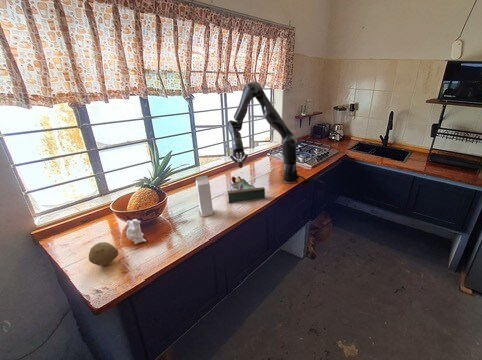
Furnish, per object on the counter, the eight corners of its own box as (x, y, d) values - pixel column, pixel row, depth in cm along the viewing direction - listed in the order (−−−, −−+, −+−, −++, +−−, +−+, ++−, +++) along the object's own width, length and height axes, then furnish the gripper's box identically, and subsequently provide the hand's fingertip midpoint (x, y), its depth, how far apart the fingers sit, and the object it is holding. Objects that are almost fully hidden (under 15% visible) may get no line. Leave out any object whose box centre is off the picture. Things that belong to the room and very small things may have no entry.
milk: (213, 214, 135) (209, 177, 126) (202, 217, 132) (196, 179, 123) (210, 209, 140) (206, 173, 131) (199, 212, 137) (194, 175, 128)
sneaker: (253, 198, 153) (252, 184, 149) (228, 190, 163) (226, 177, 159) (260, 193, 159) (260, 179, 155) (235, 186, 169) (234, 173, 165)
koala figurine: (151, 239, 114) (145, 217, 109) (137, 247, 108) (131, 224, 103) (139, 234, 117) (133, 212, 112) (125, 242, 111) (118, 219, 107)
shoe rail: (264, 196, 155) (263, 187, 152) (265, 198, 153) (264, 188, 150) (228, 201, 149) (227, 191, 146) (229, 203, 147) (228, 193, 144)
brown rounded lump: (86, 268, 96) (78, 247, 92) (109, 254, 104) (102, 234, 100) (102, 274, 93) (94, 253, 89) (124, 259, 101) (118, 240, 97)
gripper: (227, 143, 167) (231, 166, 161) (247, 142, 171) (250, 164, 165) (227, 148, 174) (230, 170, 168) (246, 147, 178) (250, 169, 172)
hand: (240, 167), depth 167 cm, fingers closed
